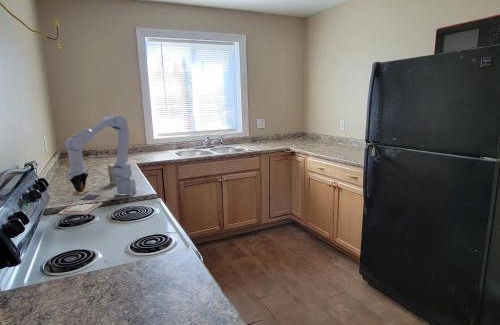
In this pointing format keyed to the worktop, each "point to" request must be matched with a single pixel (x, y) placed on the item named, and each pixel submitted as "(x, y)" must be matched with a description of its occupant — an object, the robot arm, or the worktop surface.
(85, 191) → the stamp
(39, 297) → the worktop surface
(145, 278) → the worktop surface
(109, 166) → the skincare box
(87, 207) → the marked board
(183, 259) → the worktop surface
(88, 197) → the ink pad
